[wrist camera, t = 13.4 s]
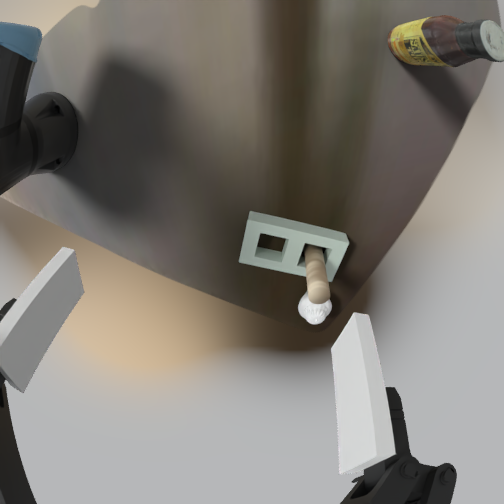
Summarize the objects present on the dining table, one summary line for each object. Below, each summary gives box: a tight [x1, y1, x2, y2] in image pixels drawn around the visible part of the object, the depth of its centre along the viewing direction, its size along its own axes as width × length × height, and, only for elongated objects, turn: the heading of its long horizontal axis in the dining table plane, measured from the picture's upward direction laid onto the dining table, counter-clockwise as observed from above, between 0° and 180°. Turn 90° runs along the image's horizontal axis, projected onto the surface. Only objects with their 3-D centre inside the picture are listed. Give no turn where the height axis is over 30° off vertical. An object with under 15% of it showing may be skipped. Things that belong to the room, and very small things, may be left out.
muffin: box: [298, 291, 332, 324], centre depth 50 cm, size 6×6×7 cm
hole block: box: [239, 211, 349, 282], centre depth 46 cm, size 16×8×3 cm, turn 79°
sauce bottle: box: [388, 15, 504, 67], centre depth 19 cm, size 6×6×20 cm
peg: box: [304, 243, 330, 304], centre depth 42 cm, size 3×3×12 cm
